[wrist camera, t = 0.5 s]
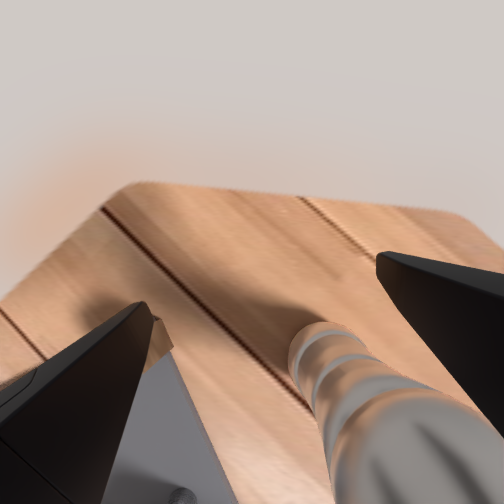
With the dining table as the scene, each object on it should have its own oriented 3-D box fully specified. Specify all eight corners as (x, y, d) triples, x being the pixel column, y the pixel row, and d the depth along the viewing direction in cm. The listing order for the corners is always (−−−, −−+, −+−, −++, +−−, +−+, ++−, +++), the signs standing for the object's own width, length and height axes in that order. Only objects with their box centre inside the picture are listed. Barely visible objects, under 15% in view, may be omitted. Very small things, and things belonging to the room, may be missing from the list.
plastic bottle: (271, 339, 23) (359, 796, 3) (331, 303, 23) (798, 515, 3) (307, 399, 22) (693, 1430, 3) (368, 362, 23) (1206, 1069, 3)
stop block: (173, 346, 23) (144, 373, 17) (145, 360, 23) (106, 392, 17) (160, 318, 23) (127, 335, 17) (133, 332, 23) (90, 353, 17)
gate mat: (248, 526, 22) (248, 538, 21) (11, 647, 22) (-1, 665, 21) (154, 316, 23) (149, 318, 22) (-67, 426, 23) (-82, 433, 22)
